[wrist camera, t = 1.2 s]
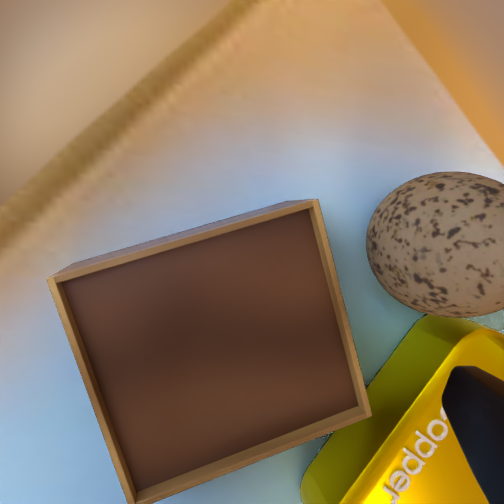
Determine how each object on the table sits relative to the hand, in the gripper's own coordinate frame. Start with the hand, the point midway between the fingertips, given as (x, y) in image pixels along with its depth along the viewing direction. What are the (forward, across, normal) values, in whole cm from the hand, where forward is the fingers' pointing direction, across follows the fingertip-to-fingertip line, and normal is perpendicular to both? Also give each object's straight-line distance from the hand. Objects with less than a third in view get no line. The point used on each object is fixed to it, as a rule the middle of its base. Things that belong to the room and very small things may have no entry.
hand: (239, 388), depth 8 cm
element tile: (+11, -16, +16) cm, 26 cm away
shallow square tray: (+14, -1, +8) cm, 16 cm away
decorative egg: (+16, -12, +3) cm, 20 cm away
